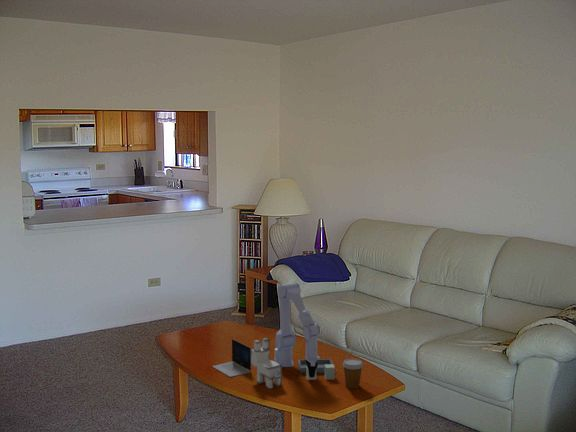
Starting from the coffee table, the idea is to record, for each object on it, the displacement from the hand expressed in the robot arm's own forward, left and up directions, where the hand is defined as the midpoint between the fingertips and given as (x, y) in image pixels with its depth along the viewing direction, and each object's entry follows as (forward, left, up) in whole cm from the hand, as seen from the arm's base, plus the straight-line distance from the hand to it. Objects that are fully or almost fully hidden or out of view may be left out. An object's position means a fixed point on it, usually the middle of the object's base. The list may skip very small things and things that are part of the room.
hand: (311, 375), depth 322 cm
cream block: (0, 0, -1) cm, 1 cm away
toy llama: (-21, -5, -2) cm, 22 cm away
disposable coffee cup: (+19, -12, -2) cm, 22 cm away
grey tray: (+4, +12, -1) cm, 13 cm away
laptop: (-39, +14, -2) cm, 42 cm away
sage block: (+9, 0, -2) cm, 9 cm away
